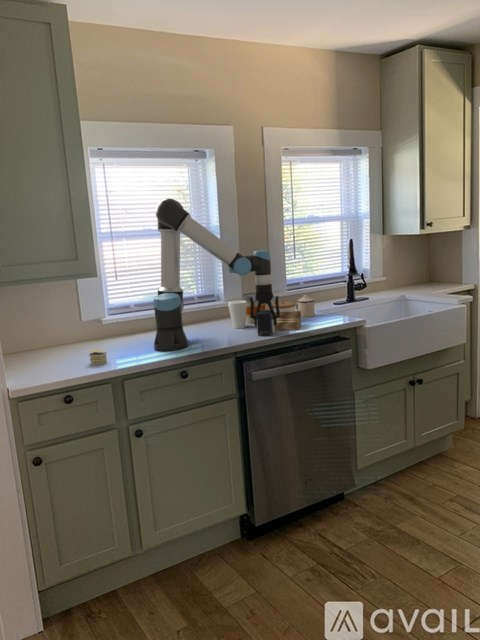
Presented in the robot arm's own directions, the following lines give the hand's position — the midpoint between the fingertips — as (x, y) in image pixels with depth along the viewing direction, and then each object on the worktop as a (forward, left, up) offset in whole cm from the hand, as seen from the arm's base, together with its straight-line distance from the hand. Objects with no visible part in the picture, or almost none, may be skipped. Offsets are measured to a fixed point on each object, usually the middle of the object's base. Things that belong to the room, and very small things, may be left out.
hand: (266, 332), depth 255 cm
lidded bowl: (+4, +31, -1) cm, 31 cm away
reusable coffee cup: (-11, +30, -1) cm, 32 cm away
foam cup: (-17, +18, -1) cm, 25 cm away
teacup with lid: (+14, +44, -1) cm, 46 cm away
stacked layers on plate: (-62, -49, -1) cm, 79 cm away
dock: (+7, +13, -1) cm, 15 cm away
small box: (0, 0, -1) cm, 1 cm away
